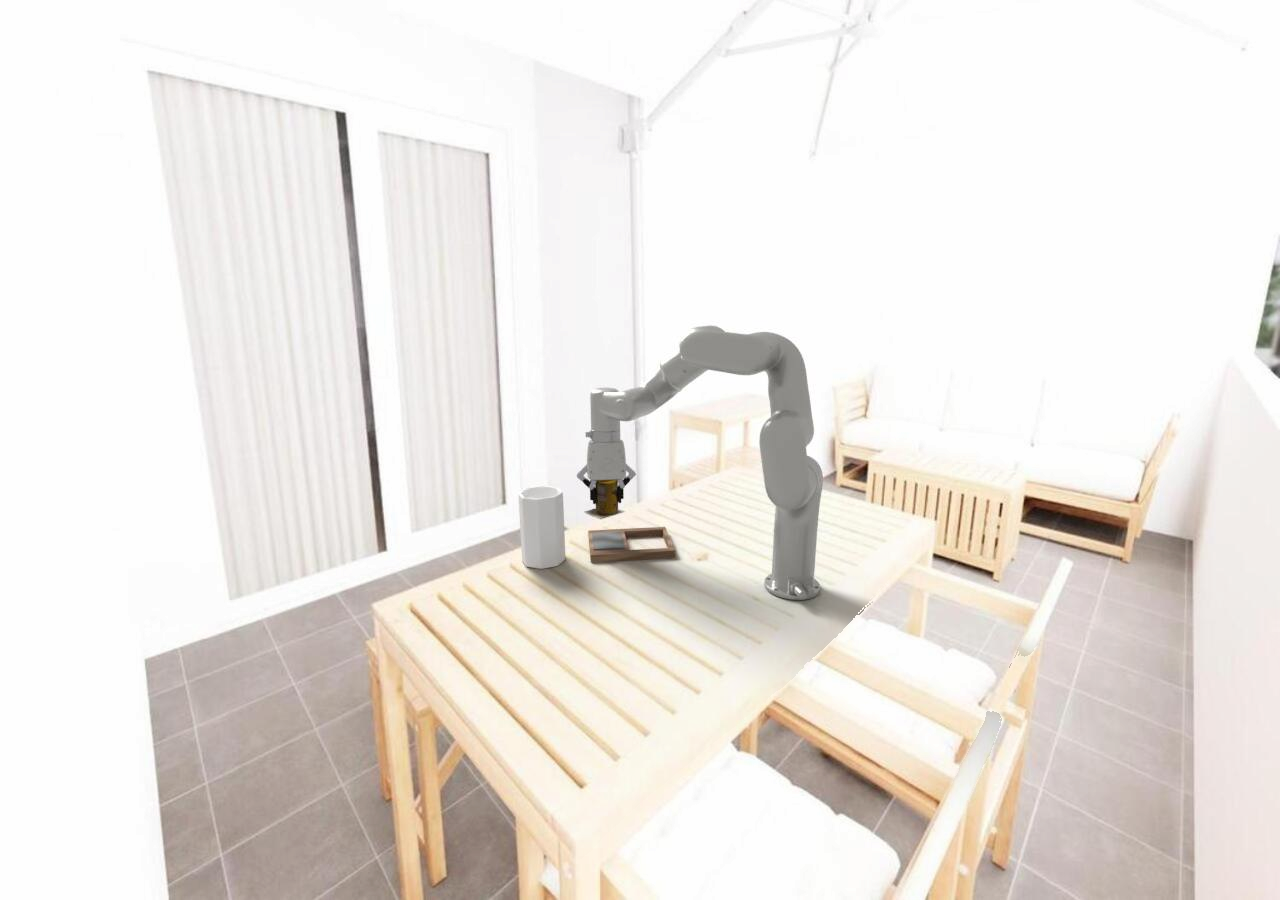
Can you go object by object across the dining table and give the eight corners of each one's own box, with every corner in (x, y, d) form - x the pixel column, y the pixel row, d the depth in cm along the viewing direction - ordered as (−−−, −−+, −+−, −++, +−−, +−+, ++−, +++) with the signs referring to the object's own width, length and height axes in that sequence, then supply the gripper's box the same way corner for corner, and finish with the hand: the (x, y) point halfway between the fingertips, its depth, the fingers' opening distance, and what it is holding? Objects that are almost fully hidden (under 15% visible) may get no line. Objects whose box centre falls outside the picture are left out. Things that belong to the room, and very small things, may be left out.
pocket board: (675, 557, 156) (675, 549, 155) (590, 562, 153) (590, 554, 153) (665, 533, 172) (665, 525, 172) (588, 537, 170) (588, 529, 169)
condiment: (625, 512, 160) (624, 469, 157) (600, 520, 154) (599, 475, 151) (607, 505, 165) (606, 463, 162) (583, 513, 159) (581, 469, 156)
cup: (513, 560, 155) (509, 492, 150) (547, 547, 163) (544, 482, 158) (540, 573, 147) (536, 502, 143) (574, 559, 155) (572, 491, 151)
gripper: (572, 440, 150) (574, 508, 154) (640, 438, 152) (640, 505, 156) (572, 433, 157) (574, 498, 162) (637, 431, 159) (637, 496, 164)
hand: (606, 501), depth 159 cm, fingers closed on condiment, 6 cm apart
